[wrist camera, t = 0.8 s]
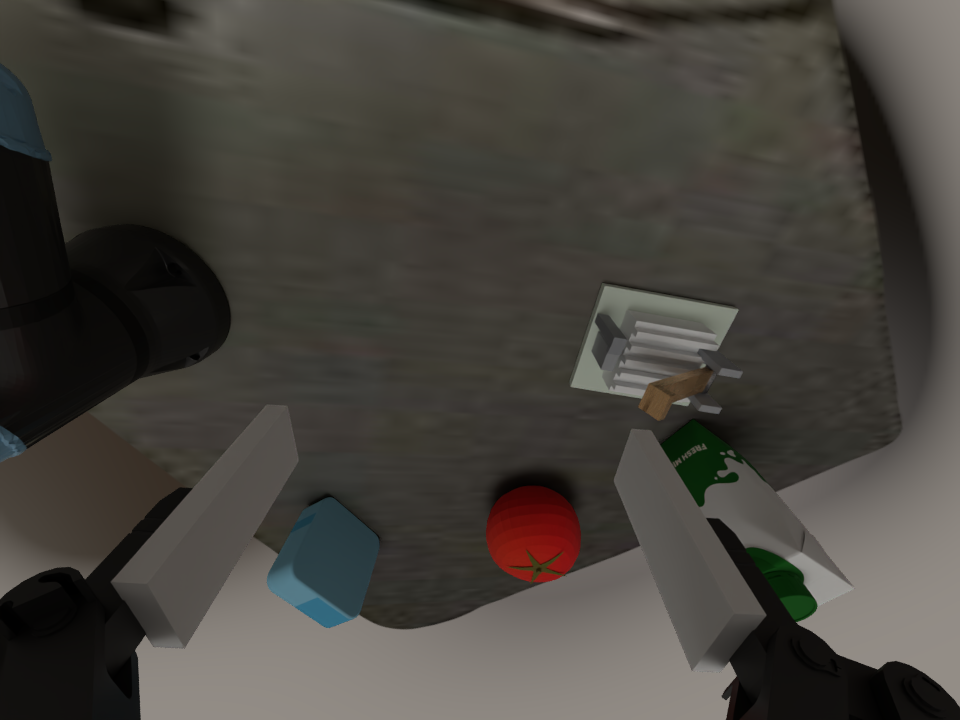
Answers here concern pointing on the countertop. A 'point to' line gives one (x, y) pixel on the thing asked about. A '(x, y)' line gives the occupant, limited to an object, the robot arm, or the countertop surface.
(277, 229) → the countertop surface
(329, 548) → the light blue flat block
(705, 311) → the base
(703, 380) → the wooden bar
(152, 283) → the robot arm
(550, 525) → the tomato
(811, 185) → the countertop surface
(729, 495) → the milk carton
